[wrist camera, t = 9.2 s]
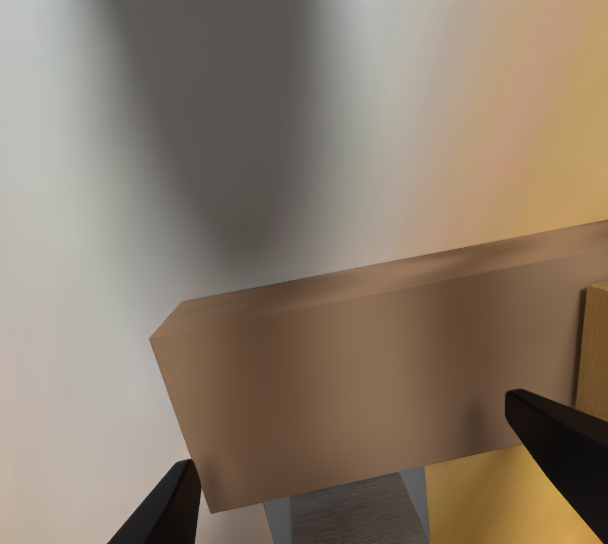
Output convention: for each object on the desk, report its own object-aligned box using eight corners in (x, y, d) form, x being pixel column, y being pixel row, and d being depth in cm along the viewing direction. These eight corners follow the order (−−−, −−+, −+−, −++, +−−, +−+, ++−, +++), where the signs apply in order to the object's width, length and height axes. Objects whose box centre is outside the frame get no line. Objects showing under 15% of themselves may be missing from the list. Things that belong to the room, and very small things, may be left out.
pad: (417, 420, 14) (420, 424, 14) (427, 538, 16) (429, 544, 16) (251, 456, 13) (251, 462, 13) (284, 572, 16) (284, 579, 15)
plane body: (658, 210, 12) (778, 214, 9) (635, 355, 14) (729, 397, 11) (181, 302, 11) (149, 338, 8) (225, 443, 13) (210, 513, 10)
